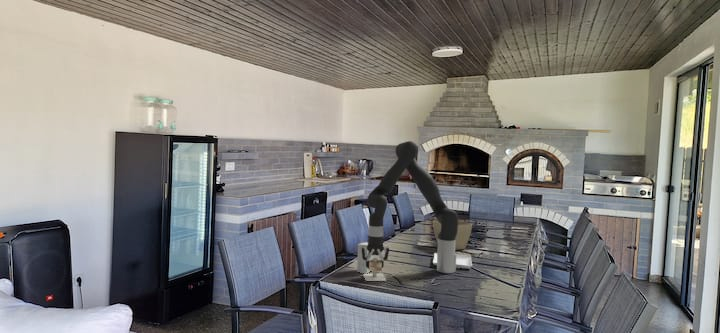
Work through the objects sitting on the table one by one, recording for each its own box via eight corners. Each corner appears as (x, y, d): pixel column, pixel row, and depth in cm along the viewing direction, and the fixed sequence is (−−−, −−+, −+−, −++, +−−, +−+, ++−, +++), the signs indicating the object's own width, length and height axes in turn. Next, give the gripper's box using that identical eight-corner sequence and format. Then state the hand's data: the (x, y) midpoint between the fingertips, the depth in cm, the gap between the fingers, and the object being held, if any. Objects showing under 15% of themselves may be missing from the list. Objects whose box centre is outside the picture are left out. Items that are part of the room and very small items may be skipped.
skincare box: (366, 274, 221) (367, 245, 220) (356, 272, 224) (357, 244, 223) (374, 270, 228) (375, 242, 228) (364, 268, 231) (365, 241, 231)
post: (382, 275, 220) (383, 256, 220) (386, 281, 210) (386, 261, 210) (363, 275, 219) (363, 256, 219) (365, 281, 209) (366, 261, 209)
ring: (379, 267, 218) (379, 259, 218) (381, 271, 212) (381, 262, 212) (367, 267, 217) (368, 259, 217) (369, 271, 211) (369, 262, 211)
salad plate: (472, 271, 233) (472, 265, 233) (432, 268, 237) (432, 261, 237) (470, 261, 254) (471, 255, 253) (434, 258, 258) (434, 252, 258)
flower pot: (430, 245, 289) (431, 220, 288) (454, 243, 297) (455, 219, 296) (448, 252, 271) (449, 225, 271) (472, 250, 279) (473, 224, 279)
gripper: (388, 233, 218) (387, 266, 219) (360, 232, 217) (359, 266, 218) (391, 236, 211) (390, 270, 212) (362, 236, 209) (360, 270, 210)
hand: (374, 268), depth 215 cm, fingers closed on ring, 6 cm apart
